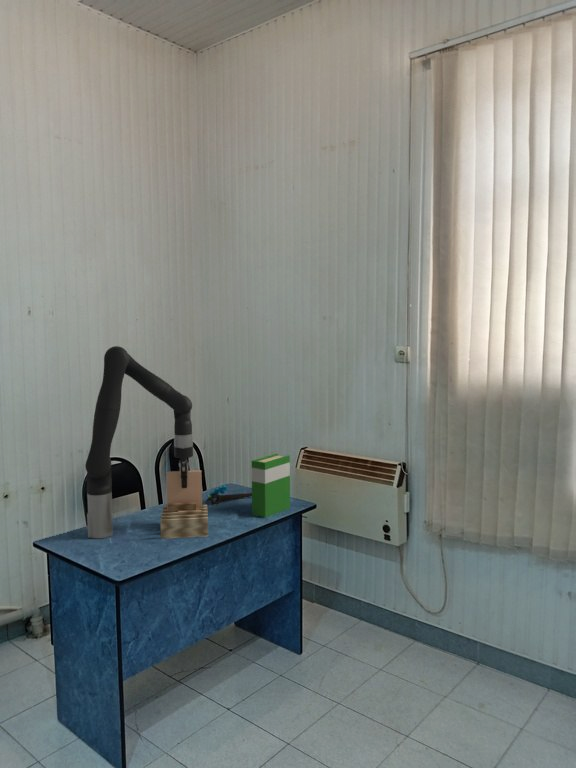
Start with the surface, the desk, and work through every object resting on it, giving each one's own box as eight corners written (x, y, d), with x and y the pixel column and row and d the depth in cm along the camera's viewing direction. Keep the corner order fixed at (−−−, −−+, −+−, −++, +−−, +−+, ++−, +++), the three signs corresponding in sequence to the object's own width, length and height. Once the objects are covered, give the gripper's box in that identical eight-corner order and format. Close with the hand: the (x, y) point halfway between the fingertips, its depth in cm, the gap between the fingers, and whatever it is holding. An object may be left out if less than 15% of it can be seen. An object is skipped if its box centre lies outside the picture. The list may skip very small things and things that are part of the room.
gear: (222, 492, 307) (228, 481, 300) (228, 502, 305) (234, 492, 298) (202, 500, 300) (209, 489, 293) (208, 510, 298) (215, 499, 291)
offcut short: (178, 532, 251) (178, 512, 251) (178, 530, 253) (178, 510, 253) (201, 531, 253) (201, 511, 252) (201, 529, 255) (201, 509, 254)
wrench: (266, 501, 305) (210, 507, 289) (261, 499, 310) (205, 505, 293) (267, 490, 305) (210, 495, 289) (261, 488, 309) (205, 493, 293)
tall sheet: (167, 525, 259) (166, 472, 257) (167, 524, 261) (166, 471, 259) (202, 523, 261) (201, 471, 259) (202, 522, 263) (201, 470, 261)
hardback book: (276, 505, 292) (276, 453, 289) (289, 508, 288) (289, 455, 285) (252, 514, 278) (251, 460, 275) (265, 518, 274) (264, 463, 271)
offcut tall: (168, 529, 255) (168, 504, 254) (168, 527, 257) (168, 503, 256) (196, 527, 257) (196, 503, 255) (196, 526, 259) (196, 502, 257)
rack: (160, 542, 244) (160, 520, 244) (163, 526, 263) (162, 506, 262) (208, 539, 247) (207, 518, 246) (207, 524, 266) (207, 504, 265)
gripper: (174, 442, 264) (175, 483, 266) (173, 448, 250) (174, 492, 252) (193, 441, 265) (193, 482, 267) (192, 448, 251) (193, 491, 253)
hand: (184, 486), depth 259 cm, fingers closed on tall sheet, 1 cm apart
